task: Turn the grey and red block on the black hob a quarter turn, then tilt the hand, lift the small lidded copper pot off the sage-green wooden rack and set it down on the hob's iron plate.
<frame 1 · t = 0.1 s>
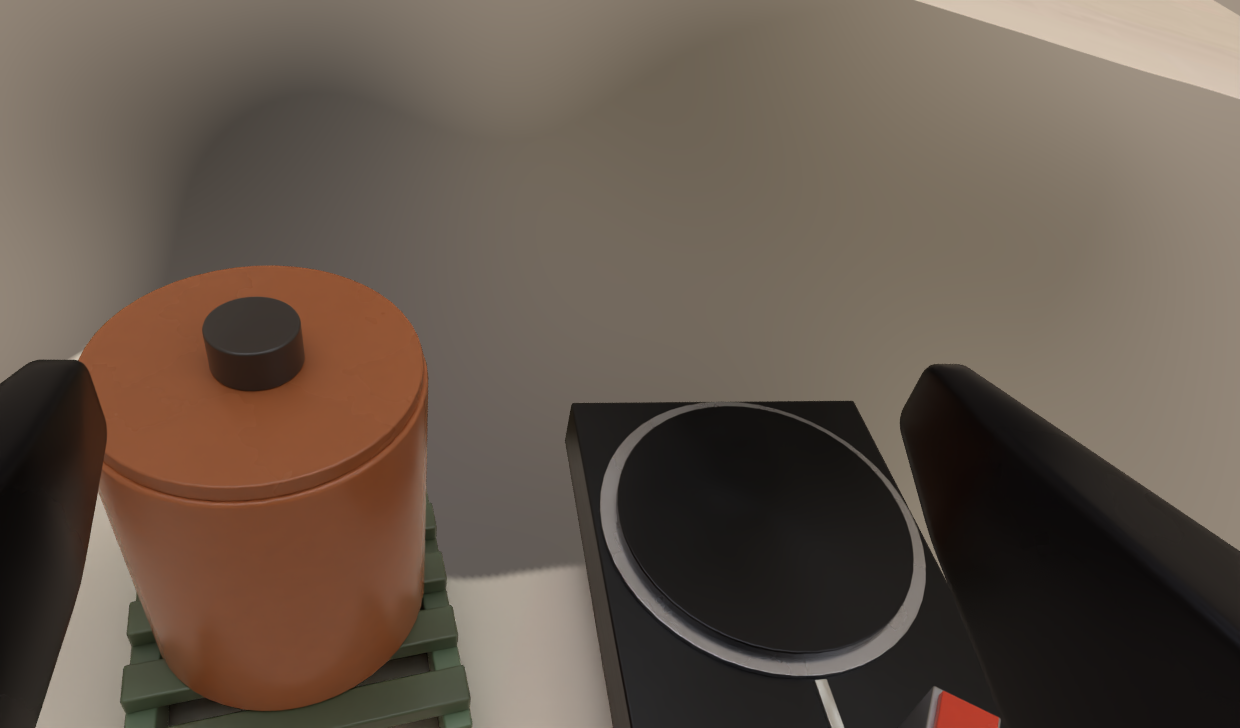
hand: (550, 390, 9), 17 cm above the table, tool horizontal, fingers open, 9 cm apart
hob: (777, 654, 26), on the table
pot: (295, 589, 23), point 2 cm above the table, touching rack
hob plate: (745, 558, 29), resting on hob
rack: (301, 628, 24), on the table
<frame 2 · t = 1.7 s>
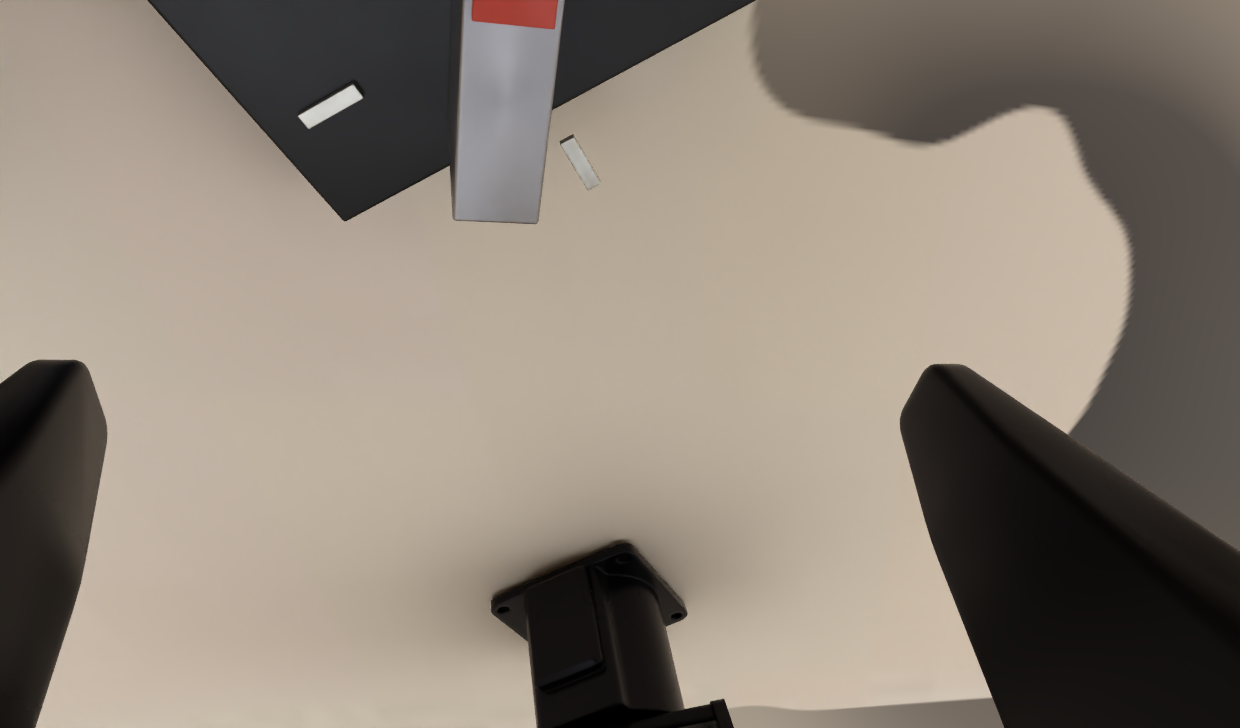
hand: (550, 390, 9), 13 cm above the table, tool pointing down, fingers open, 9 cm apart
grey and red block: (499, 54, 16), point 4 cm above the table, hinge at -35.0°
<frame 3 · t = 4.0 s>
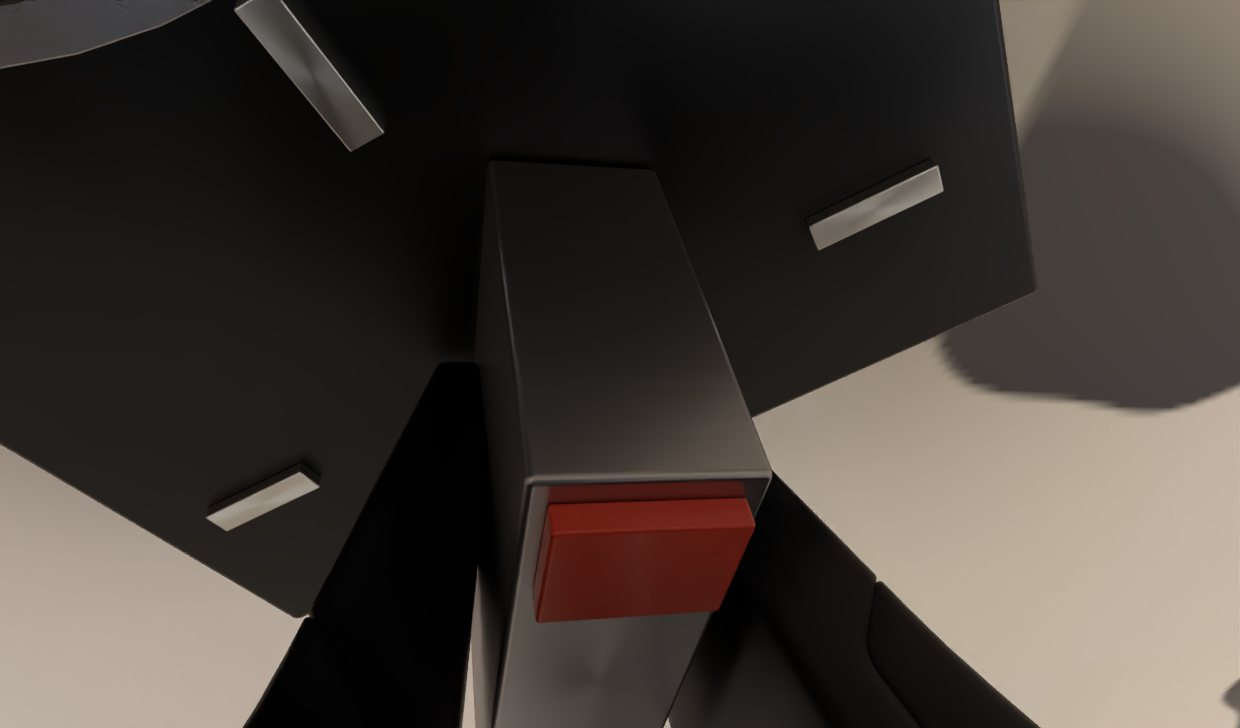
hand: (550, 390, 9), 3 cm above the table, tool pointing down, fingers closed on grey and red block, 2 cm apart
grey and red block: (568, 503, 8), point 4 cm above the table, hinge at -35.0°, touching gripper
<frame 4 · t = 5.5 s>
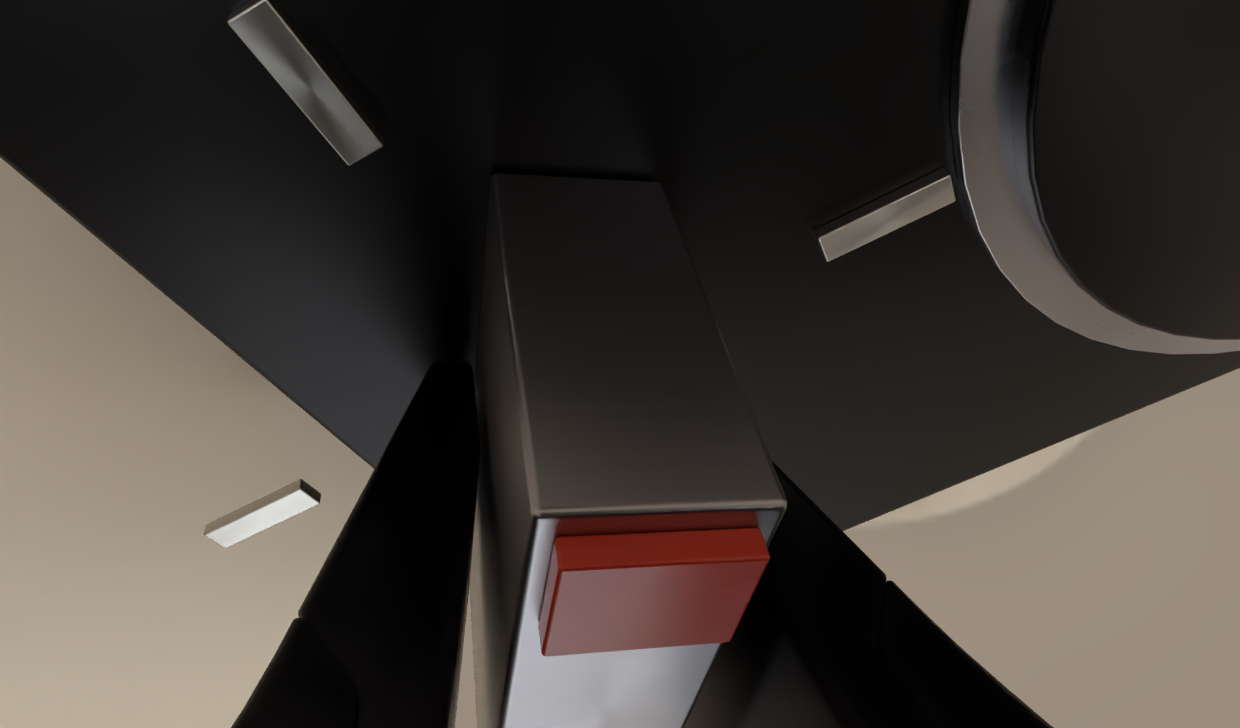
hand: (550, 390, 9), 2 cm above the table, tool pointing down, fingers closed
hob: (1028, 10, 10), on the table
grey and red block: (573, 523, 8), point 4 cm above the table, hinge at 54.8°
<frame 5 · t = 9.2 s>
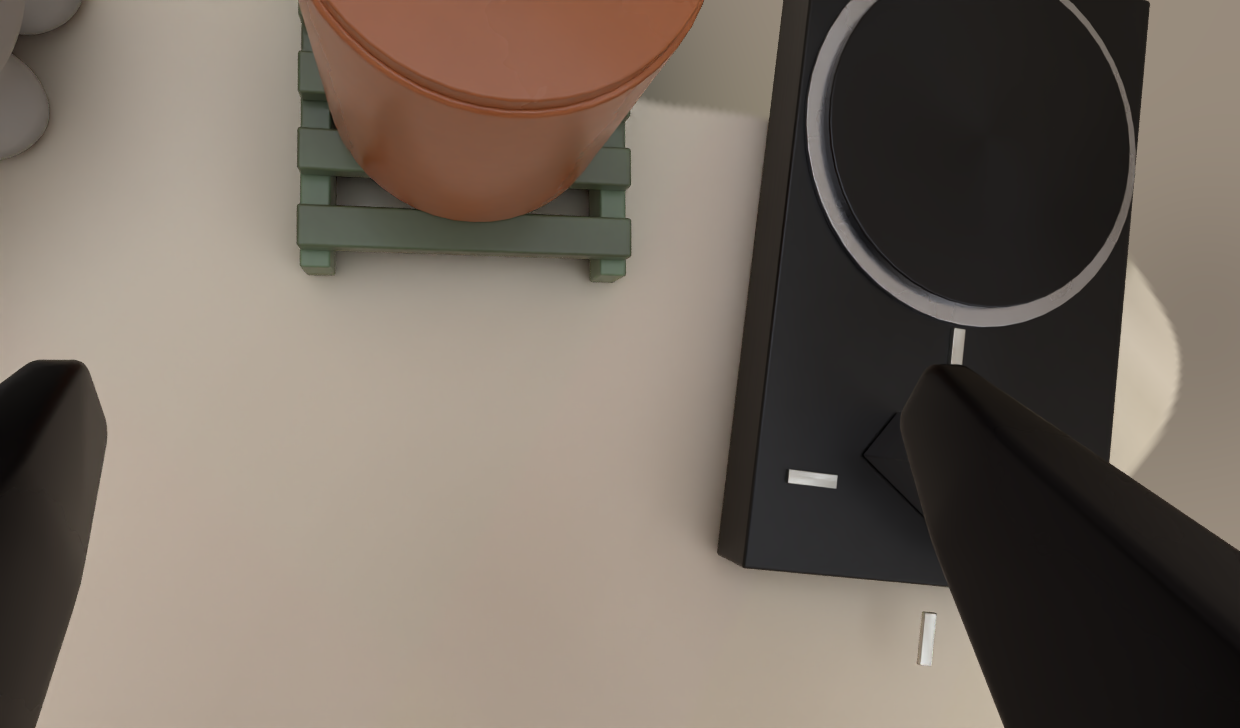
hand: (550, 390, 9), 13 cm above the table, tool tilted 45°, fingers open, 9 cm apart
hob: (921, 272, 26), on the table
grey and red block: (989, 503, 21), point 4 cm above the table, hinge at 54.8°
pot: (471, 84, 21), point 2 cm above the table, touching rack
hob plate: (933, 159, 26), resting on hob
rack: (466, 111, 23), on the table
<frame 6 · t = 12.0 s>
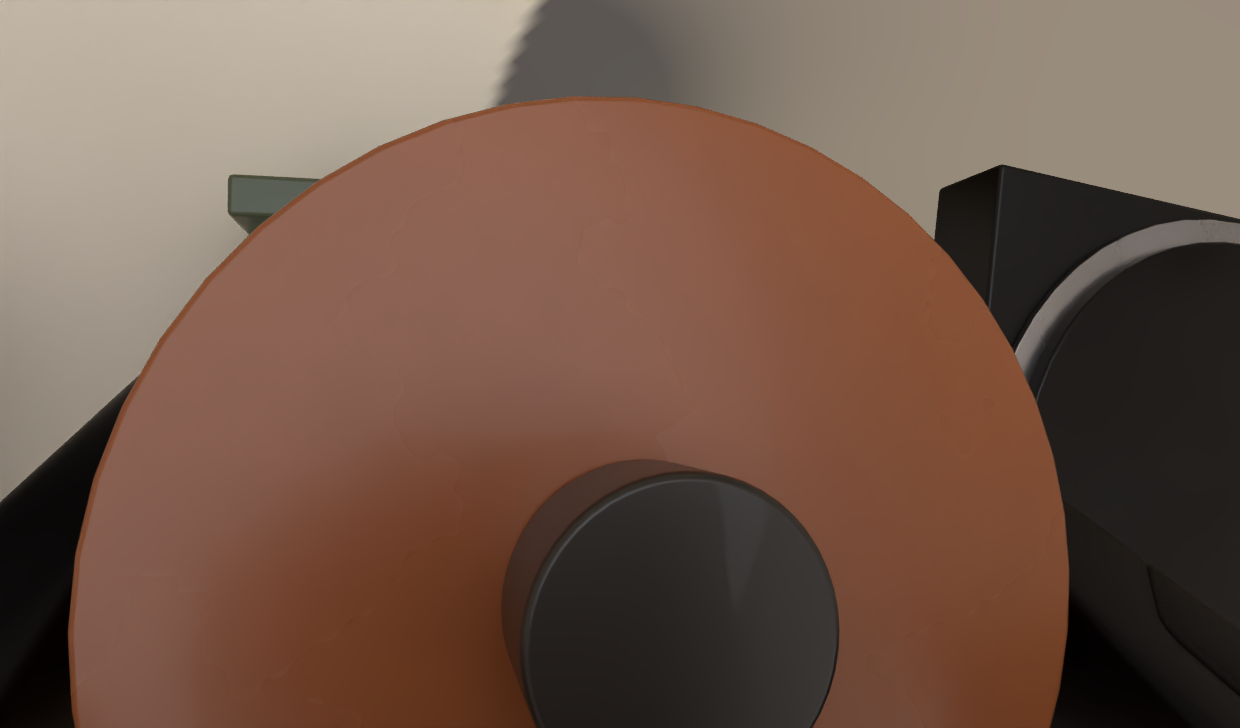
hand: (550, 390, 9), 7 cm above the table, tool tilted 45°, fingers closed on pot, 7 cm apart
hob: (1115, 634, 19), on the table
pot: (504, 480, 14), point 2 cm above the table, touching gripper, rack
hob plate: (1129, 475, 19), resting on hob
rack: (493, 470, 16), on the table
when the fingers open (7 cm above the table, at t = 18.7 s): pot stays where it is, resting on hob plate.
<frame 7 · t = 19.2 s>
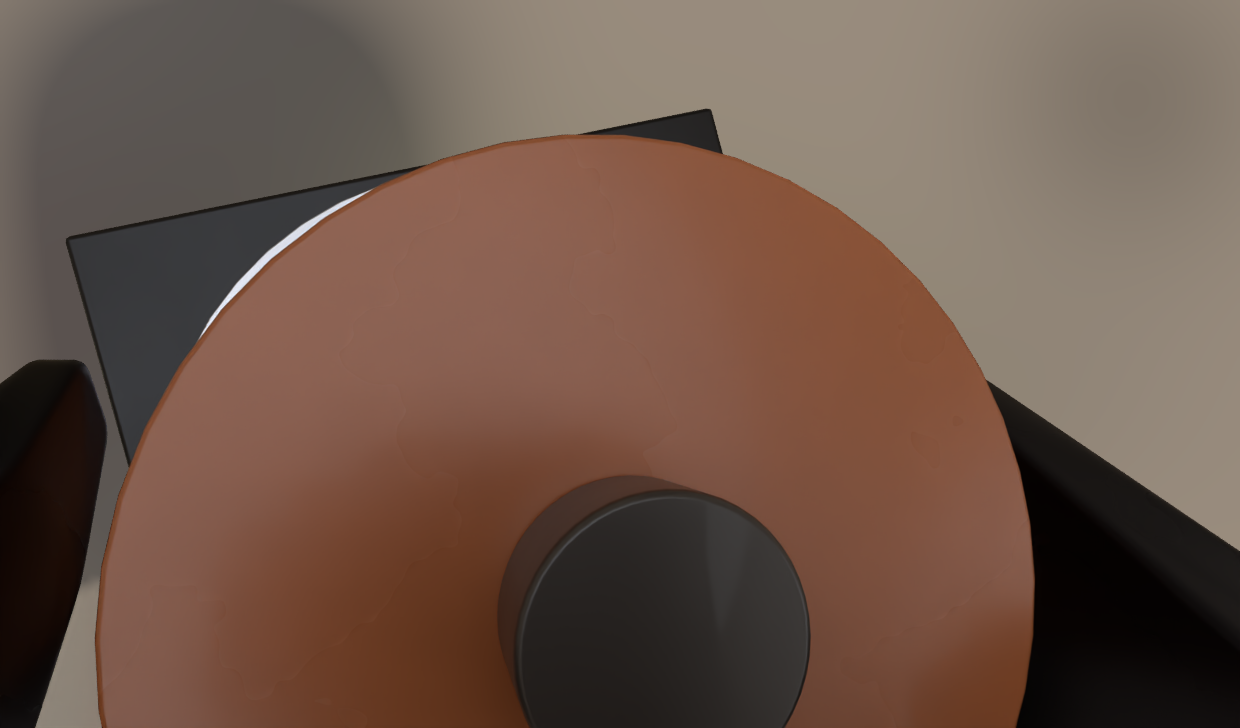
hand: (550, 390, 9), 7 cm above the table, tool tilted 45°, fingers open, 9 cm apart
hob: (537, 641, 16), on the table
pot: (503, 486, 14), point 2 cm above the table, touching hob plate
hob plate: (490, 468, 16), resting on hob
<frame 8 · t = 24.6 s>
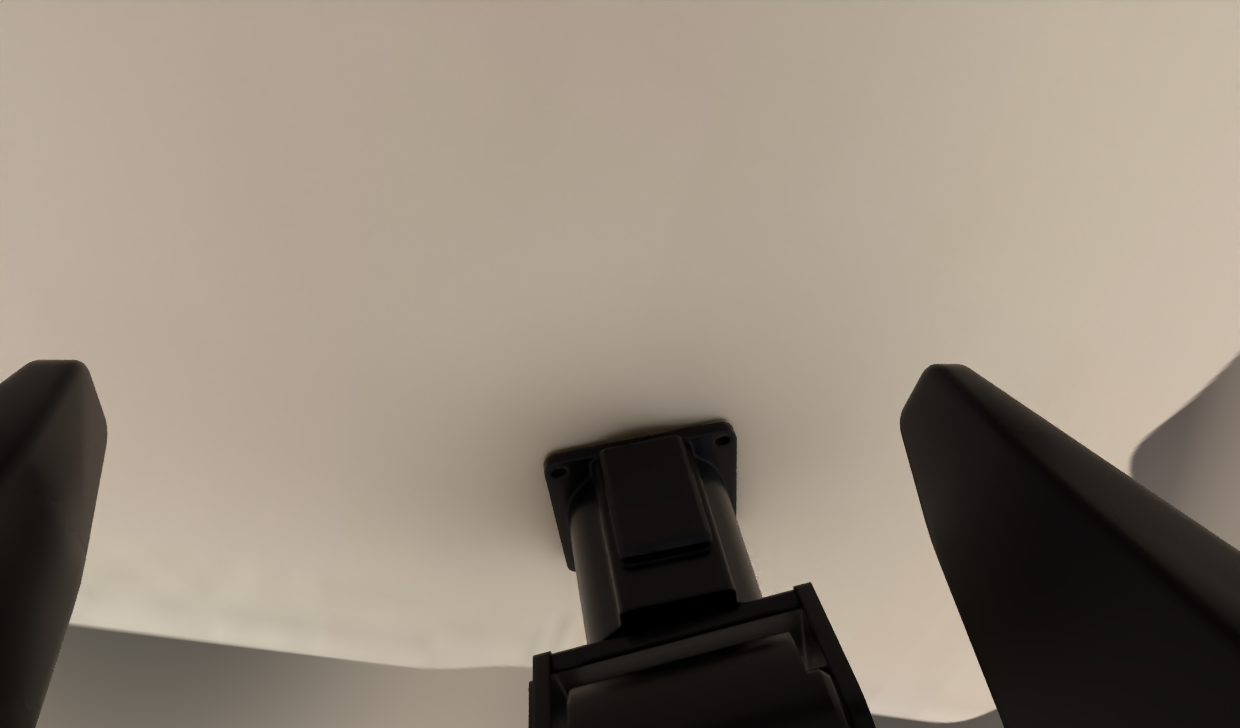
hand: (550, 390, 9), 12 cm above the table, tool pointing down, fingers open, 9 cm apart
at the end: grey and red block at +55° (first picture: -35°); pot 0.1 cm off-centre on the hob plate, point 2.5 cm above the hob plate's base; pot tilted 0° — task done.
